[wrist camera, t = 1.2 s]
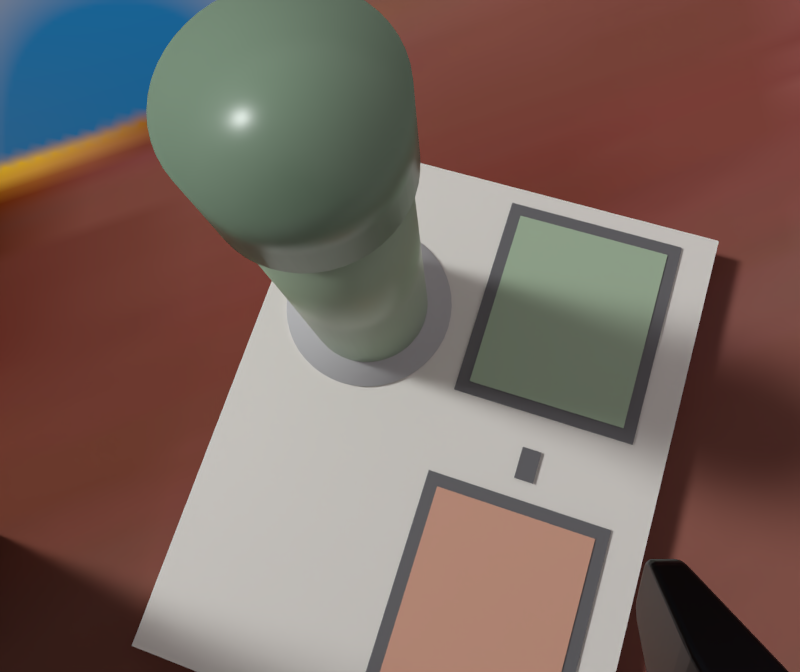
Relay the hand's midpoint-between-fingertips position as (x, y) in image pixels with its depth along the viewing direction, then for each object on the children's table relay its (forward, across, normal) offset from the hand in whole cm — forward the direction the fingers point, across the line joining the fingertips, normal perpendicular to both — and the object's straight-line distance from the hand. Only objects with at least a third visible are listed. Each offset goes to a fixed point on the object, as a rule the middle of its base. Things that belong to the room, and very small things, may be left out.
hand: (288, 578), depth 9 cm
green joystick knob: (+14, 0, +4) cm, 15 cm away
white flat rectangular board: (+12, -2, +8) cm, 14 cm away
